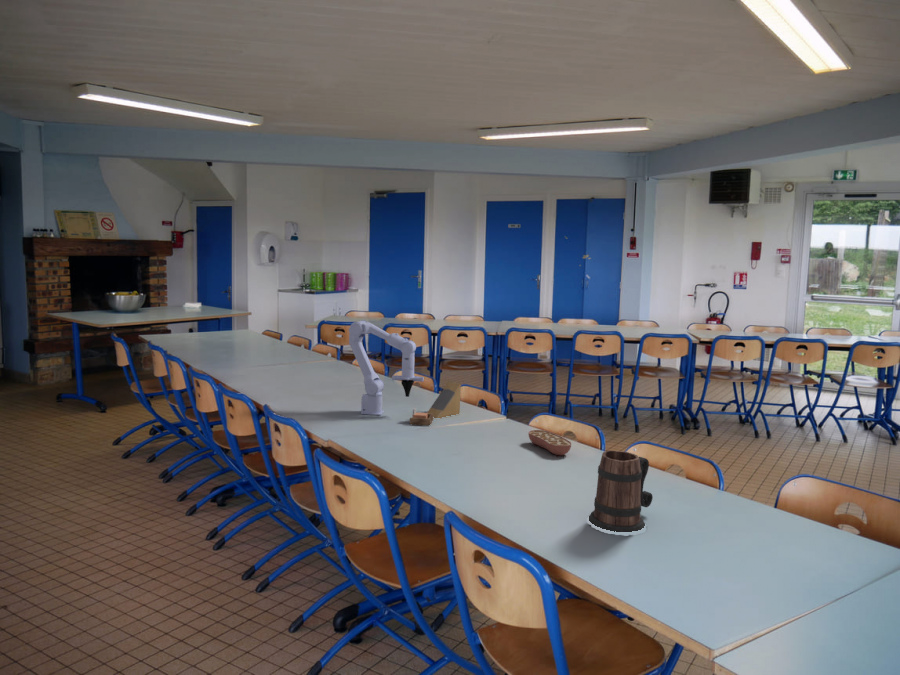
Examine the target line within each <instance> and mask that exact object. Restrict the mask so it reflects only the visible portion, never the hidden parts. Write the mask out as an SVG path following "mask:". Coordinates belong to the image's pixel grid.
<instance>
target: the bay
mask: <svg viewBox="0 0 900 675" xmlns="http://www.w3.org/2000/svg"><path fill="white" fill-rule="evenodd" d="M432 421H433V422H434V418H433V414H428V418H427V419H426V418H412V417H409V425H410V424H412V425H411V426H422V425H430V424H431V425H432V423H433V422H432ZM431 425H430V426H431Z"/></svg>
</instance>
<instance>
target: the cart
mask: <svg viewBox="0 0 900 675" xmlns="http://www.w3.org/2000/svg"><path fill="white" fill-rule="evenodd" d="M411 418H426V419H427V418H428V413H427V412H417V407H416V406H415V407H413V409H412V417H411Z"/></svg>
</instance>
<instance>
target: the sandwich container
mask: <svg viewBox="0 0 900 675" xmlns="http://www.w3.org/2000/svg"><path fill="white" fill-rule="evenodd" d="M461 387H462V384H461V383H458V382H455V381H454V382H453V381H449V380H448V381H447V383H446V384H445V386H444V388H443V389H442V391H441V392H440V393H439V395H438V396H437V398H436V399H435V401H433V404H431V406H430V408H428V410H427V412H426V413H428V414H433V417H434V418H440V419H443V418H442V417H445V418H447V417H446V416H450V417H452V416H451V415H455V416H457V415H456V414H459V413H460V412H461V390H462V388H461ZM459 415H460V414H459ZM434 418H433V419H434Z"/></svg>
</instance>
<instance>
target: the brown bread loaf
mask: <svg viewBox="0 0 900 675" xmlns="http://www.w3.org/2000/svg"><path fill="white" fill-rule="evenodd" d="M528 438H529V440H530V442H532V443H533V445H536V446H538V447H541V448H542V449H543V448H544V449H545V450H547V451H549V452H551V454H553V455H556V456H565V455H566V454H568V453H569V452H570V450H571V448H572V442H571V441H570V440H568V439H567V438H564V437H563V436H561V435H558V434H556V433H554V432H550V431H548V430H542V429H541V430H540V429H533V430H530V431H528Z"/></svg>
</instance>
